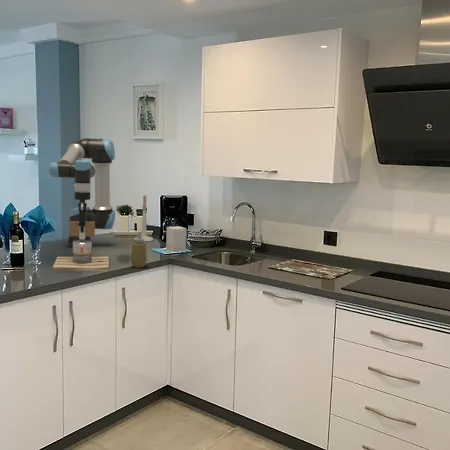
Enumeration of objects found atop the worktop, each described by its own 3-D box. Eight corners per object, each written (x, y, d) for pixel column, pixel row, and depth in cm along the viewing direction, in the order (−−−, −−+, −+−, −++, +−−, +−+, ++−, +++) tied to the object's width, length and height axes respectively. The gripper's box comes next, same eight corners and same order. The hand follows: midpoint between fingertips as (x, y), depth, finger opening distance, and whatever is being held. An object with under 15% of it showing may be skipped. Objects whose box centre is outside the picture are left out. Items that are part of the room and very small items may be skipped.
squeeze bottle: (133, 268, 257) (134, 233, 254) (128, 265, 264) (129, 230, 261) (148, 267, 260) (149, 232, 258) (143, 264, 268) (144, 230, 265)
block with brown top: (70, 251, 261) (70, 220, 259) (94, 251, 263) (95, 220, 261) (69, 255, 251) (69, 223, 249) (94, 255, 254) (94, 223, 251)
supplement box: (186, 253, 302) (187, 228, 300) (172, 254, 297) (173, 228, 295) (178, 250, 309) (179, 226, 307) (165, 251, 304) (166, 226, 302)
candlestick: (135, 242, 331) (136, 195, 327) (132, 238, 343) (133, 193, 339) (155, 241, 335) (156, 196, 331) (151, 238, 347) (152, 194, 343)
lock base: (57, 260, 268) (57, 249, 267) (108, 260, 274) (108, 249, 273) (52, 271, 243) (52, 259, 242) (108, 271, 249) (108, 259, 248)
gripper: (75, 190, 260) (75, 235, 264) (73, 192, 245) (73, 241, 248) (90, 190, 262) (90, 235, 265) (89, 193, 246) (89, 241, 250)
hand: (82, 238), depth 257 cm, fingers open, 3 cm apart
